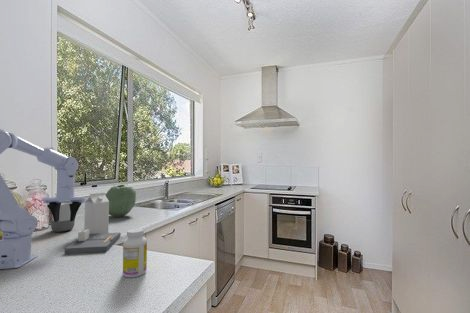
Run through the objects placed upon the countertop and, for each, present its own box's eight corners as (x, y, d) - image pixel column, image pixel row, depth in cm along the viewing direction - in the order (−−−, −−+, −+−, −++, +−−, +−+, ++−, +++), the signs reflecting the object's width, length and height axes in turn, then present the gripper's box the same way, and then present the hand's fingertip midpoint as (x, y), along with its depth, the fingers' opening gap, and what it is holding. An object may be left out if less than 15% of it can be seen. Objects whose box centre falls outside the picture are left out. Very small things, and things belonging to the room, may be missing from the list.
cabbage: (100, 216, 146) (101, 183, 147) (132, 212, 157) (133, 182, 158) (103, 221, 134) (104, 185, 134) (138, 217, 144) (139, 184, 145)
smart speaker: (56, 228, 118) (57, 200, 118) (77, 227, 120) (78, 200, 121) (46, 234, 109) (47, 203, 109) (69, 232, 111) (70, 203, 111)
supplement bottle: (139, 266, 76) (140, 226, 76) (150, 272, 72) (151, 229, 72) (118, 273, 71) (119, 230, 71) (129, 280, 66) (130, 234, 67)
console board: (106, 251, 88) (107, 244, 88) (64, 254, 85) (65, 246, 85) (120, 236, 106) (120, 230, 106) (86, 238, 103) (86, 232, 103)
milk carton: (83, 235, 108) (85, 193, 108) (99, 231, 114) (100, 192, 115) (93, 237, 104) (94, 194, 105) (108, 233, 111) (109, 192, 111)
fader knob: (84, 240, 93) (84, 231, 93) (77, 241, 92) (78, 231, 93) (88, 237, 97) (89, 228, 97) (82, 238, 96) (82, 229, 96)
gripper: (89, 185, 99) (88, 218, 99) (50, 185, 96) (49, 219, 96) (82, 187, 92) (81, 222, 92) (40, 187, 90) (39, 223, 89)
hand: (64, 221), depth 93 cm, fingers open, 5 cm apart
